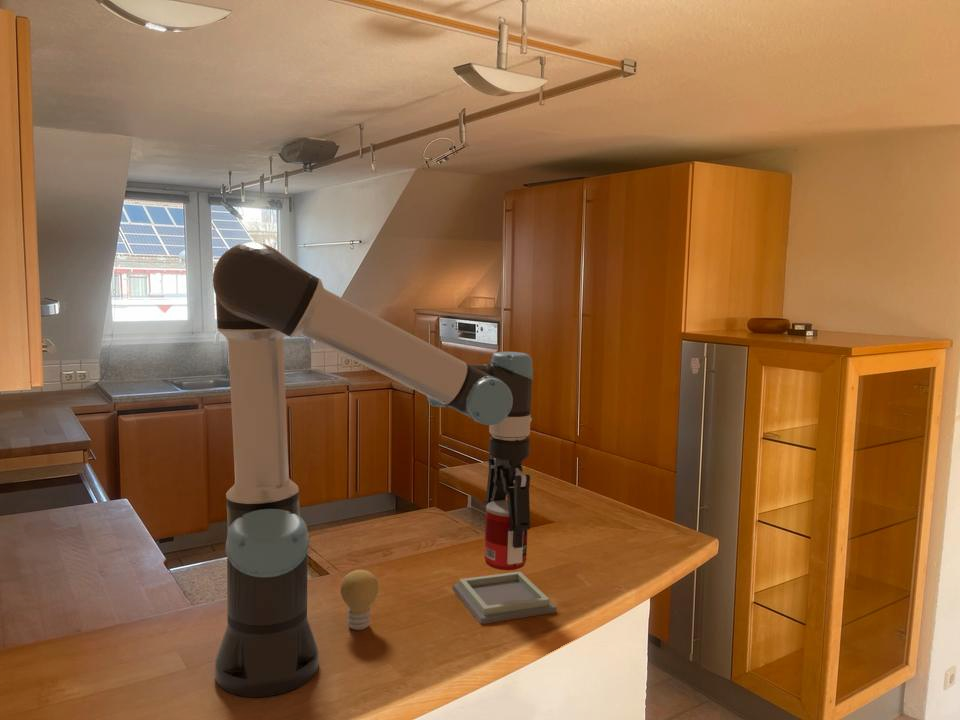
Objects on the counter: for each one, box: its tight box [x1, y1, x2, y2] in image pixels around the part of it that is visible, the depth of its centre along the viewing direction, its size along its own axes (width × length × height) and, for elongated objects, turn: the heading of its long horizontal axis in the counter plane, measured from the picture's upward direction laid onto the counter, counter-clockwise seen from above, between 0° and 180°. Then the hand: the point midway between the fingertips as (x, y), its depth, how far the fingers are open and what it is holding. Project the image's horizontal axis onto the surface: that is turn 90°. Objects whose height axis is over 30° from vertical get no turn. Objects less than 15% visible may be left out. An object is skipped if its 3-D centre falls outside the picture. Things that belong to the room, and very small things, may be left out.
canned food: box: [483, 499, 529, 571], centre depth 135 cm, size 8×8×11 cm
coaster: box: [452, 571, 557, 625], centre depth 136 cm, size 15×15×2 cm
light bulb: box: [340, 569, 379, 631], centre depth 123 cm, size 6×6×10 cm
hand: (505, 554), depth 135 cm, fingers closed on canned food, 8 cm apart
